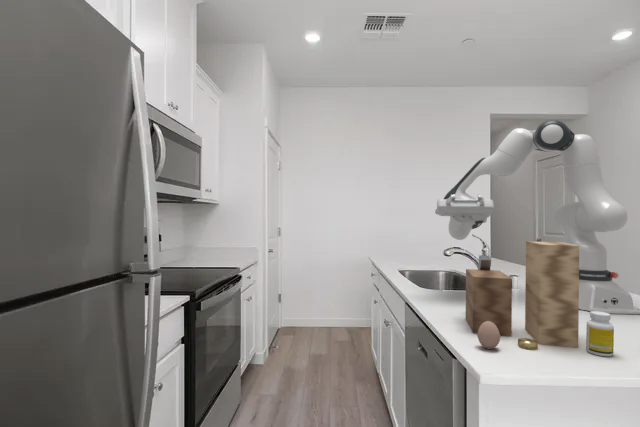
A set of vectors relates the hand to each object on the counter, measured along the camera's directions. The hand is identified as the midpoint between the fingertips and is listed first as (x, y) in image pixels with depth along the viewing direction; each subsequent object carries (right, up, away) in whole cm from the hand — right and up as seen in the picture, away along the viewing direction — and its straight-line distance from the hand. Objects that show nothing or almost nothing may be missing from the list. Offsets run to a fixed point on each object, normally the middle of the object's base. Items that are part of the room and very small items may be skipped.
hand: (466, 196), depth 139 cm
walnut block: (-3, -40, -24) cm, 47 cm away
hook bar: (0, -30, -11) cm, 32 cm away
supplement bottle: (+15, -41, -45) cm, 63 cm away
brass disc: (0, -41, -42) cm, 58 cm away
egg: (-11, -40, -43) cm, 60 cm away
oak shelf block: (+10, -41, -34) cm, 54 cm away
